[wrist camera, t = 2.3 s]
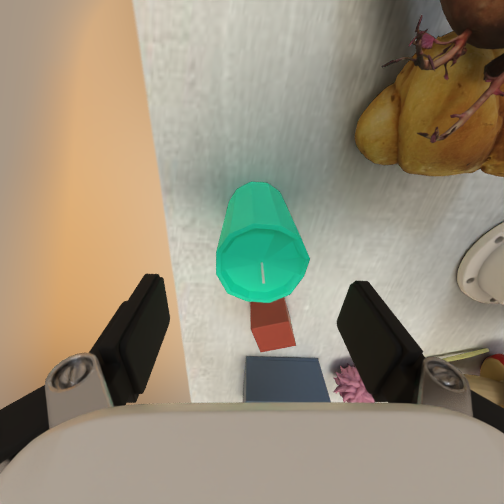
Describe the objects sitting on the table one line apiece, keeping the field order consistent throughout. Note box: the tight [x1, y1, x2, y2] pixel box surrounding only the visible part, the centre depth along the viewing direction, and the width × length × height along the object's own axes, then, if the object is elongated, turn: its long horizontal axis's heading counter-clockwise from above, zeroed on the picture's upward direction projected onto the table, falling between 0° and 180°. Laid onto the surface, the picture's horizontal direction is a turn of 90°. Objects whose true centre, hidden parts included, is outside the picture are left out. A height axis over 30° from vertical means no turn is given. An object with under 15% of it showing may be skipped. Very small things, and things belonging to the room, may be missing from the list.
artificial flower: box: [334, 348, 489, 403], centre depth 34 cm, size 7×7×25 cm
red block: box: [250, 297, 296, 352], centre depth 28 cm, size 4×4×4 cm
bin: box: [243, 356, 331, 403], centre depth 35 cm, size 12×12×7 cm
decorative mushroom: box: [463, 354, 504, 408], centre depth 33 cm, size 11×11×15 cm
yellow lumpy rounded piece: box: [355, 31, 504, 177], centre depth 15 cm, size 13×10×8 cm
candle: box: [216, 182, 310, 303], centre depth 18 cm, size 6×6×12 cm
